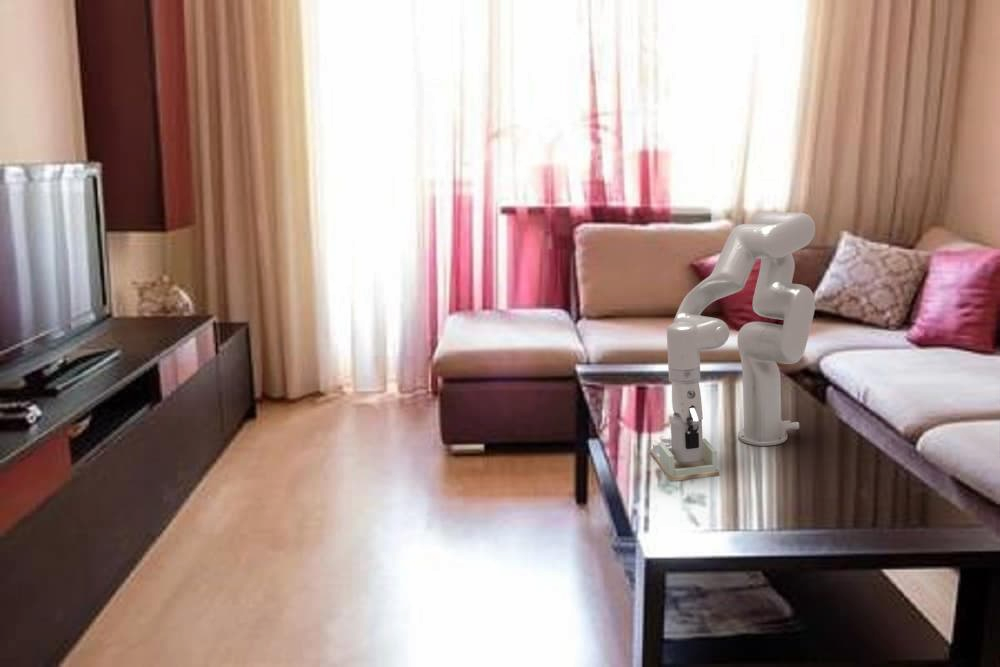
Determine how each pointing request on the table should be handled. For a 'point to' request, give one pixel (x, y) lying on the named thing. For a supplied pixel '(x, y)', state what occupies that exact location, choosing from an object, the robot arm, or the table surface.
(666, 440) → the clip
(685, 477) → the board
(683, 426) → the can
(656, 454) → the clip
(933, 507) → the table surface
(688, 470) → the bracket
